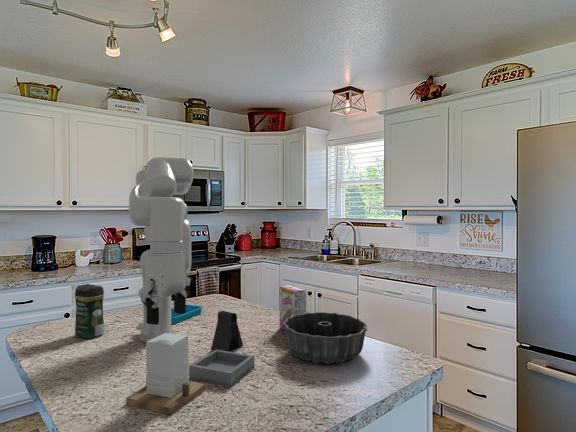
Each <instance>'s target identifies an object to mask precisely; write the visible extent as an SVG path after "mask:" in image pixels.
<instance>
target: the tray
mask: <svg viewBox="0 0 576 432" xmlns="http://www.w3.org/2000/svg"><path fill="white" fill-rule="evenodd" d="M188 365H189V379H190V380H194V381H200V382H205V383H209V384H210V383H211V384H214V385H220V386H224V387H228V388H229V387H230V388H231V387H232V386H234V385H235V384H237V383H238V382H239V381H240V380H241V379H243V378H244V377H245V376H246V375H248V374H249V373H250V372H251V371H252V370H253V369H255V355H252V354H245V353H239V352H234V351H232V352H228V351H222V350H214V351H211V352H209V353H207V354H206V355H204V356H202V357H201V358H199V359H197V360H196V361H194V362H193V363H191V364H188Z"/></svg>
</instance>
